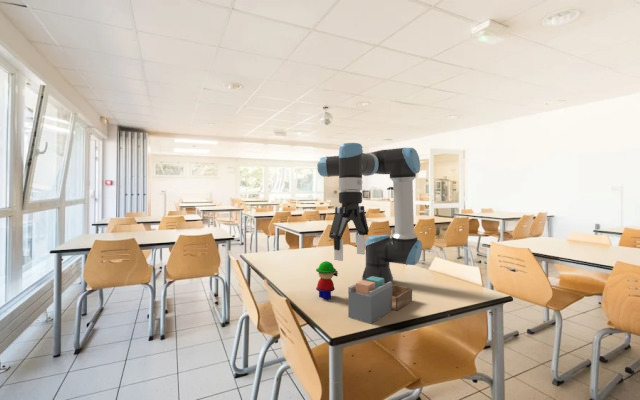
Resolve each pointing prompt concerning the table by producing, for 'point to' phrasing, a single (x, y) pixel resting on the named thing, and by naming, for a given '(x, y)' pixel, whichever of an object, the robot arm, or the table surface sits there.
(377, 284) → the teal square block
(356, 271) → the table surface
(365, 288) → the salmon pink square block
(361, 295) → the grey stepped block
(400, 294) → the crate
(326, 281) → the toy
